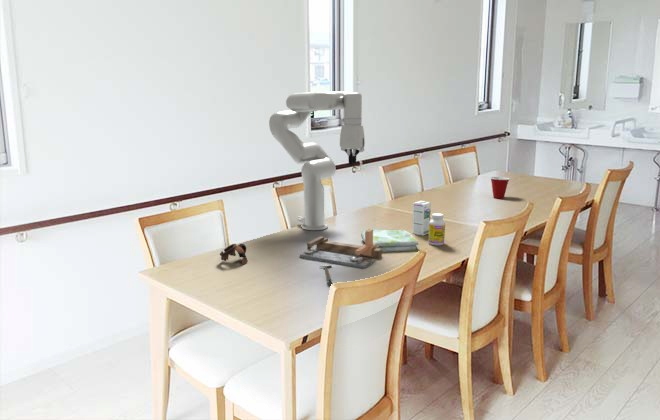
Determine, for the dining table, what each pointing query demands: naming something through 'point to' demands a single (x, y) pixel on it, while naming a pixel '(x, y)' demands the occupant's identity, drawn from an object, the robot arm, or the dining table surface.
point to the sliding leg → (366, 245)
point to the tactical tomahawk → (327, 274)
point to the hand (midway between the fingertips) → (352, 164)
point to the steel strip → (336, 258)
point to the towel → (393, 240)
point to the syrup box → (421, 217)
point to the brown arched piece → (231, 251)
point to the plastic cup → (499, 186)
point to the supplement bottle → (436, 229)
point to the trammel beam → (340, 247)
